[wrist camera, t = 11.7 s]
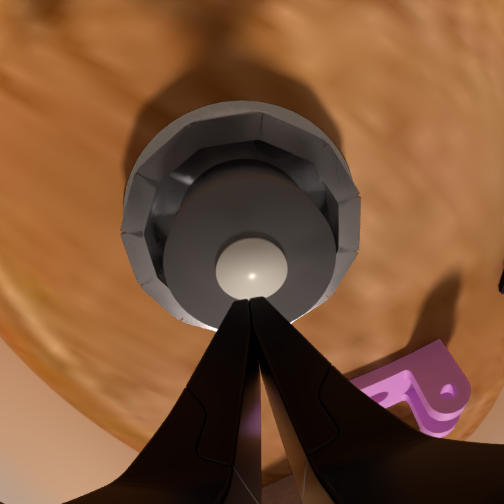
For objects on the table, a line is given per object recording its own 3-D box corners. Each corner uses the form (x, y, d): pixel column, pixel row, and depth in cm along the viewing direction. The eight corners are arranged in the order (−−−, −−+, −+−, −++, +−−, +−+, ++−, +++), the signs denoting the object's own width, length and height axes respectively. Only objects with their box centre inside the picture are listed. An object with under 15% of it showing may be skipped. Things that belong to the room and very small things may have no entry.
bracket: (438, 337, 20) (478, 397, 14) (432, 371, 23) (463, 425, 17) (296, 397, 22) (313, 472, 15) (310, 423, 24) (325, 485, 18)
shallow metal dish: (349, 92, 11) (369, 92, 9) (349, 296, 17) (362, 319, 15) (100, 130, 11) (80, 136, 9) (161, 325, 16) (155, 351, 15)
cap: (302, 150, 12) (336, 172, 8) (310, 267, 15) (335, 321, 11) (165, 172, 12) (140, 204, 8) (194, 286, 15) (188, 345, 11)
